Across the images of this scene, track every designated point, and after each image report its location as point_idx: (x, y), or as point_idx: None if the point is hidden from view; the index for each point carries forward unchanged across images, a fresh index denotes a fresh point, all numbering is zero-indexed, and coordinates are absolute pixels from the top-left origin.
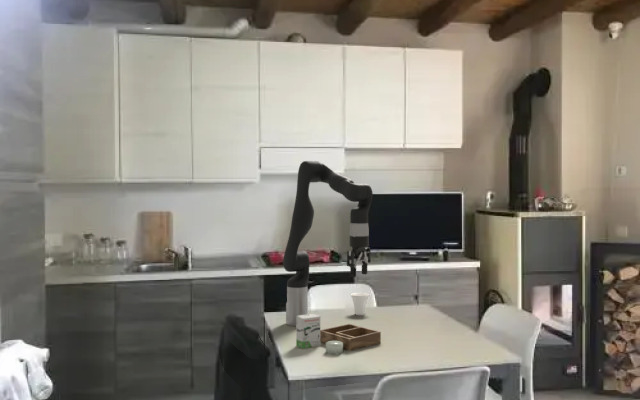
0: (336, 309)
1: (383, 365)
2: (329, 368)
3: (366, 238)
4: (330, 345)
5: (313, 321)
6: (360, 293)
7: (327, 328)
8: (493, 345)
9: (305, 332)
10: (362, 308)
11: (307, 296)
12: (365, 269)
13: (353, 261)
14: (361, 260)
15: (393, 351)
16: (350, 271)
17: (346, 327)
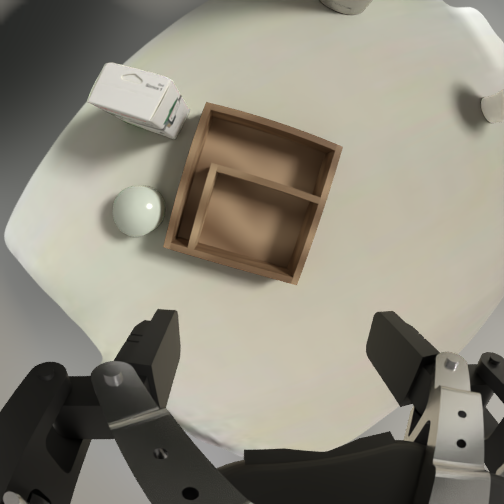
0: (483, 53)
1: None
2: (52, 269)
3: None
4: (113, 214)
5: (127, 116)
6: None
7: (244, 112)
8: (362, 431)
9: (114, 115)
10: (496, 116)
11: None
12: (384, 370)
13: (71, 468)
14: (426, 409)
15: (234, 333)
16: (124, 344)
17: (320, 146)
